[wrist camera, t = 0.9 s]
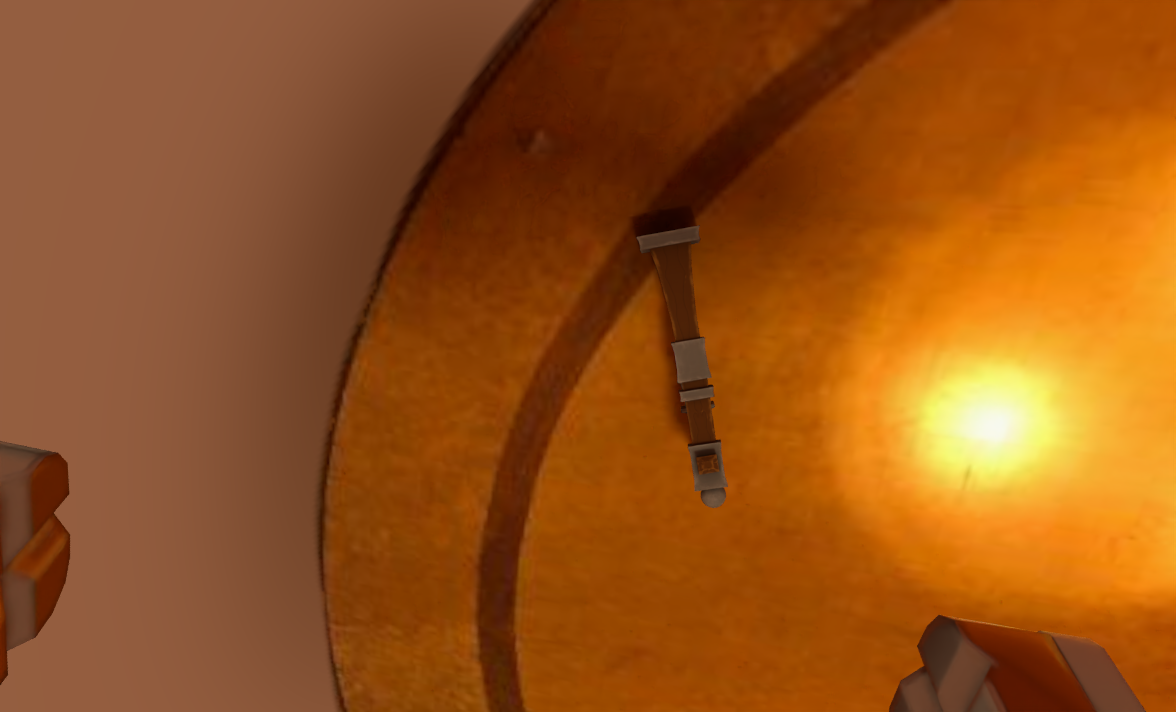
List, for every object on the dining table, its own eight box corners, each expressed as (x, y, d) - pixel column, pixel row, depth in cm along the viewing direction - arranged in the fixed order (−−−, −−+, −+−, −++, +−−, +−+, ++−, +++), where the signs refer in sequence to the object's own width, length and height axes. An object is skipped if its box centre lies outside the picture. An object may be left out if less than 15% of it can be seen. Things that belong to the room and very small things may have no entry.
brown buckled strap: (682, 488, 32) (684, 518, 28) (640, 246, 32) (635, 236, 27) (738, 479, 32) (749, 508, 27) (696, 235, 32) (700, 224, 27)
